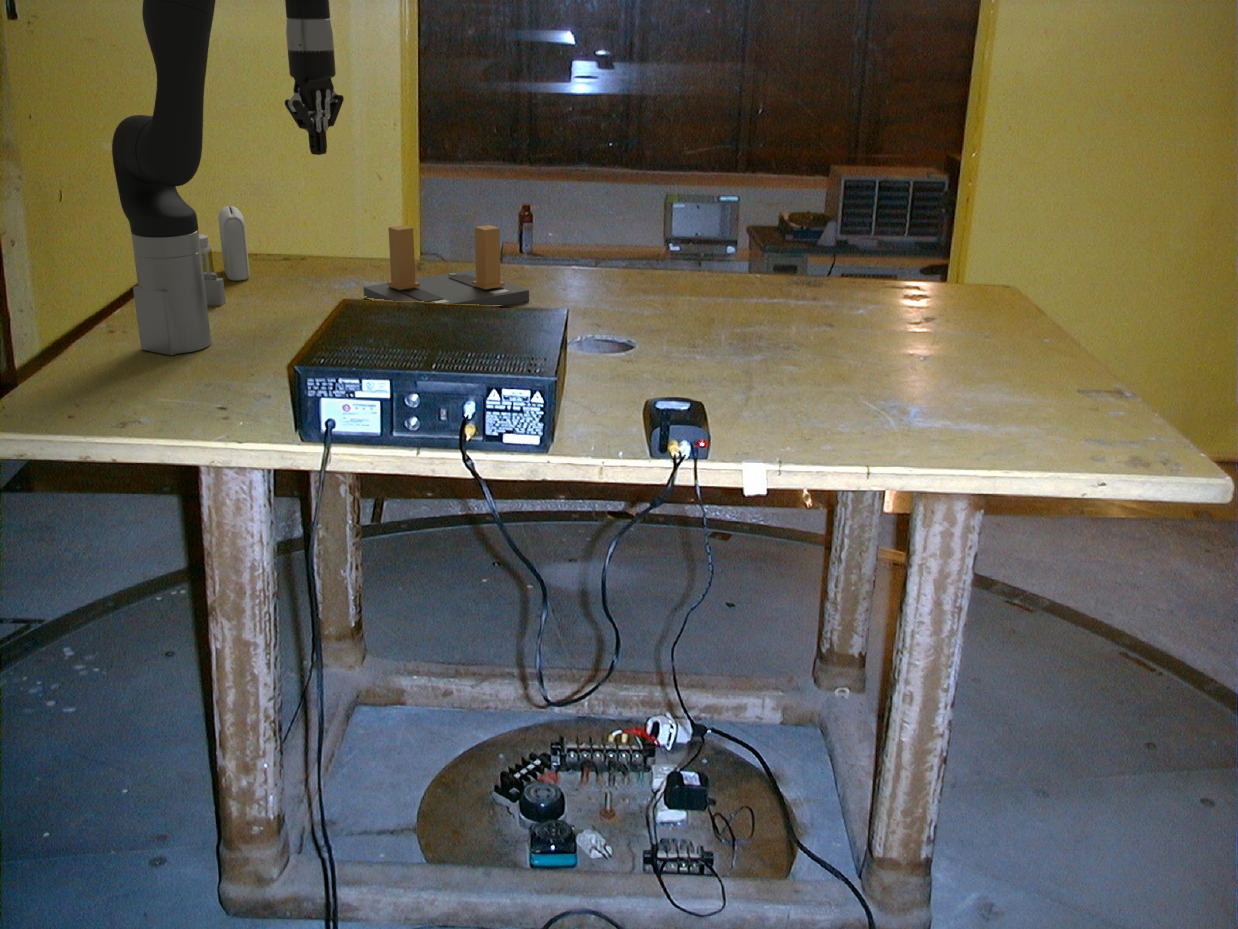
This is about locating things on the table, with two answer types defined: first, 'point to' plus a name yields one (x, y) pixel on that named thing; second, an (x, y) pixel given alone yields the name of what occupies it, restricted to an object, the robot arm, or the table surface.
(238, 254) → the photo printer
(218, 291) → the lighter
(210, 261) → the supplement bottle
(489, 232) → the brown tall rectangular block
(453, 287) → the base plate
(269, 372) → the table surface
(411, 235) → the tab left
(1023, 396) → the table surface
